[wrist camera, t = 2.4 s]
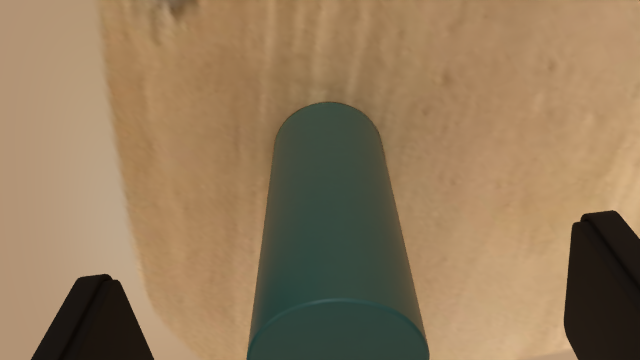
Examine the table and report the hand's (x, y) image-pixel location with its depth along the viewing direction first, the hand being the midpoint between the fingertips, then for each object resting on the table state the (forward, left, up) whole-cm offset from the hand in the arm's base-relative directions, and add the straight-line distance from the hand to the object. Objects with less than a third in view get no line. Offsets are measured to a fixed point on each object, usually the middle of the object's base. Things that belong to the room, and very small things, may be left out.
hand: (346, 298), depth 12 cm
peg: (0, 0, -6) cm, 6 cm away
